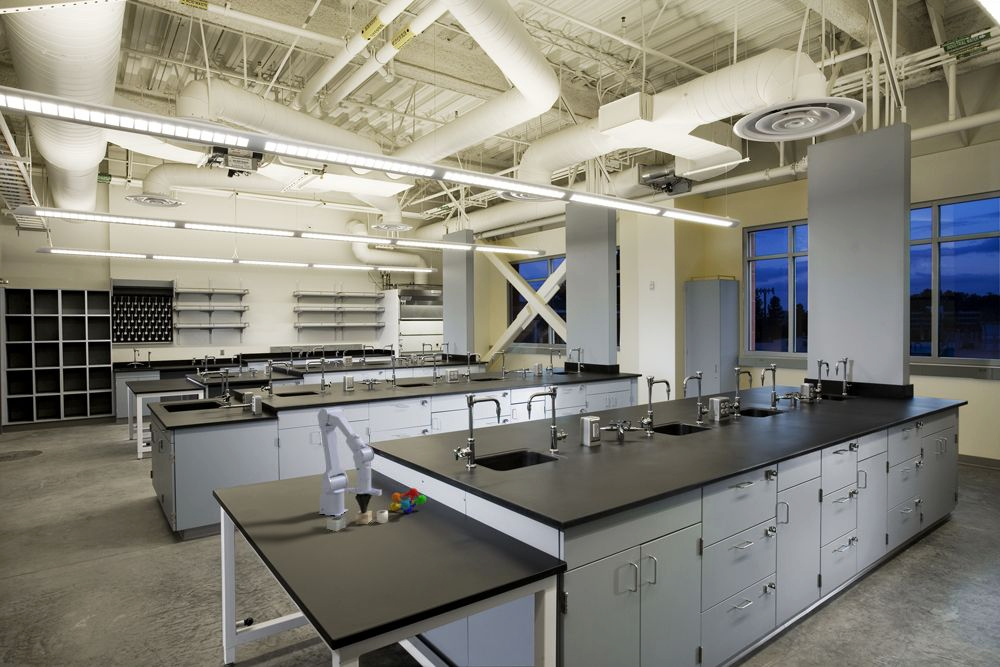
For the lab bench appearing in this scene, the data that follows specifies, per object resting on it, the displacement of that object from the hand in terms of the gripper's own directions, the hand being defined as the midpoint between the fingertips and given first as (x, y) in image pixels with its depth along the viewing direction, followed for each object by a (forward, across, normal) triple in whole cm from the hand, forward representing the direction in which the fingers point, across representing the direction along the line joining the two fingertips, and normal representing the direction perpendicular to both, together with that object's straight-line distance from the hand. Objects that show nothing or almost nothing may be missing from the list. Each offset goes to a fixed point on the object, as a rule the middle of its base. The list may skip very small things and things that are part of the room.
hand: (363, 512), depth 220 cm
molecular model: (+4, +12, +16) cm, 20 cm away
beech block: (+4, 0, 0) cm, 4 cm away
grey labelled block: (+4, -7, -9) cm, 12 cm away
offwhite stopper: (+4, +7, +2) cm, 8 cm away
